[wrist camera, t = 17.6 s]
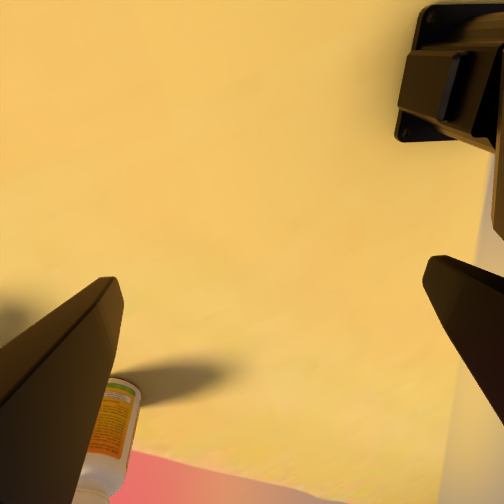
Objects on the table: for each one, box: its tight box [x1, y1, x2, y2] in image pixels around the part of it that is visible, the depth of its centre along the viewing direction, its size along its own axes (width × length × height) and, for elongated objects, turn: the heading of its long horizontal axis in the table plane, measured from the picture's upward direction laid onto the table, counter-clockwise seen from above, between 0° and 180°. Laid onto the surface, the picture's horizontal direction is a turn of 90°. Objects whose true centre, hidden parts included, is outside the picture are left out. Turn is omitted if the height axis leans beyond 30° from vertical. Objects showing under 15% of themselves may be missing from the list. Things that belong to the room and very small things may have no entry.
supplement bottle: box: [72, 378, 142, 504], centre depth 26 cm, size 5×5×10 cm
